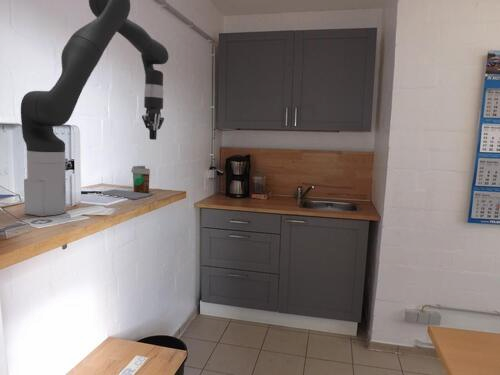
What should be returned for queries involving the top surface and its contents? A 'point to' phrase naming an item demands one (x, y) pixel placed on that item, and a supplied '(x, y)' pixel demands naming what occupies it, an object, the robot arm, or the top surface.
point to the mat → (125, 194)
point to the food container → (141, 179)
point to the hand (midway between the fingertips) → (152, 139)
